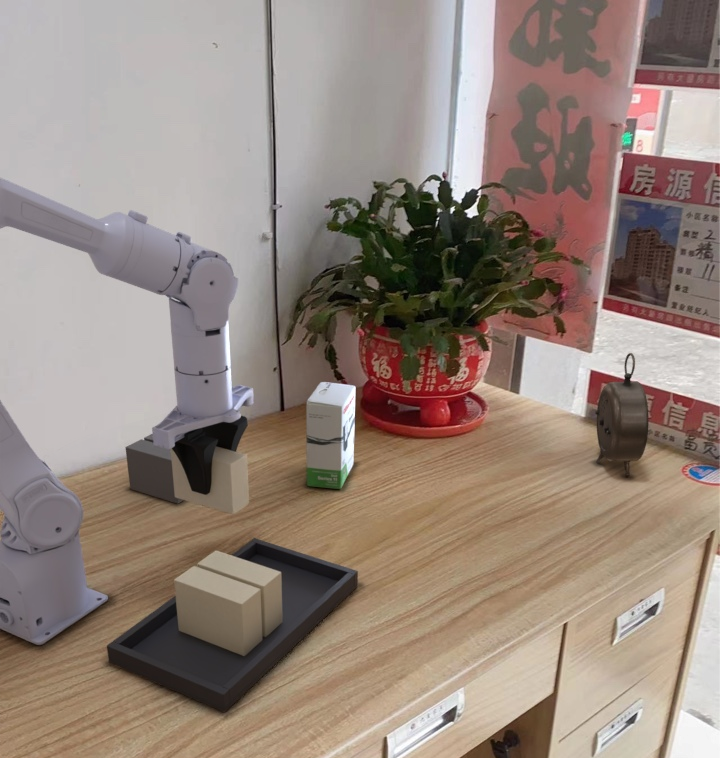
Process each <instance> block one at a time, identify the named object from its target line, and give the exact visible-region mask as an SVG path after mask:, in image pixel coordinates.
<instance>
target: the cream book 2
mask: <svg viewBox="0 0 720 758" xmlns="http://www.w3.org/2000/svg"><path fill="white" fill-rule="evenodd" d="M197 567H199V568H201V569H204V570H207V571H210V572H213V573H216V574H219V575H222V576H224V577H227V578H230V579H233V580H236V581H239V582H242V583H245V584H247V585H250V586H253V587H256V588H259V589H260V590H261V616H262V636H264V637H267V636H268V635H269V634H270V633H271V632H272V631H273V630H274V629H276V628H277V627H278V626H279V625H280V624H281V623H282V622H283V621H282V582H281V572H279V571H276V570H273V569H270V568H267V567H264V566H261V565H258V564H256V563H253V562H250V561H247V560H244V559H241V558H238V557H235V556H232V554H228V553H226V552H223V551H220V550H214V551H212V552H211V553H210V554H209V555H207V556H205V557H204V558H202V560H200V561H198V562H197Z"/></svg>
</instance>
